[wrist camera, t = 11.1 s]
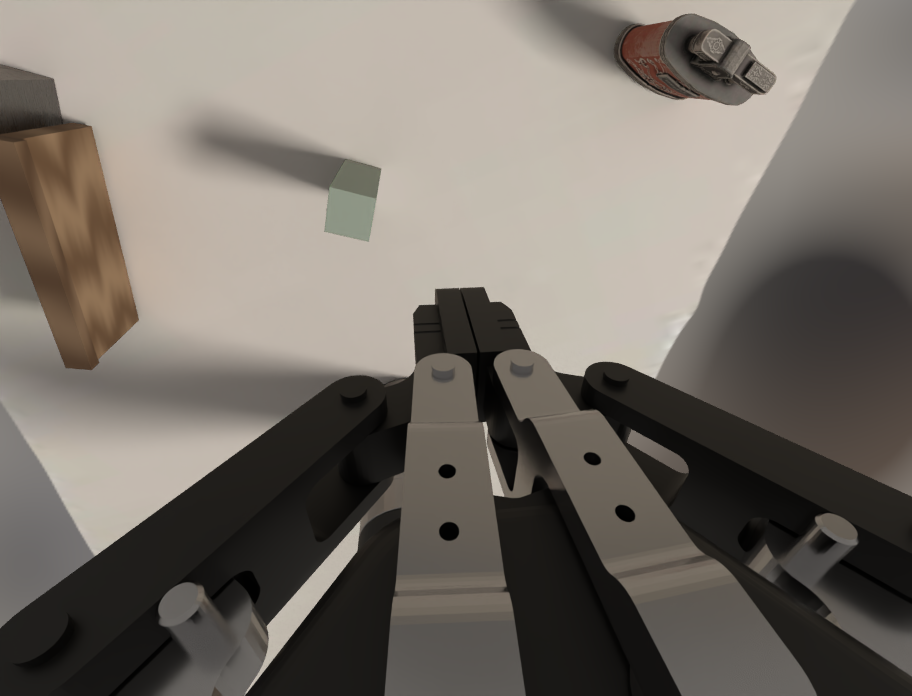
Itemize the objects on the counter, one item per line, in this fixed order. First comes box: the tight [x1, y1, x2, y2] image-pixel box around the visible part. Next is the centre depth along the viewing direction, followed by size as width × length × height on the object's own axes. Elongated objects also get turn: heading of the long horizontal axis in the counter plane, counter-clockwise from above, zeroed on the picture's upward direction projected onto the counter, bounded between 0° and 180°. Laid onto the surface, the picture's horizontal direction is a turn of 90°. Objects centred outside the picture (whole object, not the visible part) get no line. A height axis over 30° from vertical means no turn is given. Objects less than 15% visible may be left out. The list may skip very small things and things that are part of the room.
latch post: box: [324, 159, 381, 242], centre depth 31 cm, size 3×3×10 cm
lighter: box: [614, 14, 776, 105], centre depth 29 cm, size 8×3×10 cm, turn 65°
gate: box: [0, 123, 139, 370], centre depth 32 cm, size 17×2×8 cm, turn 168°
